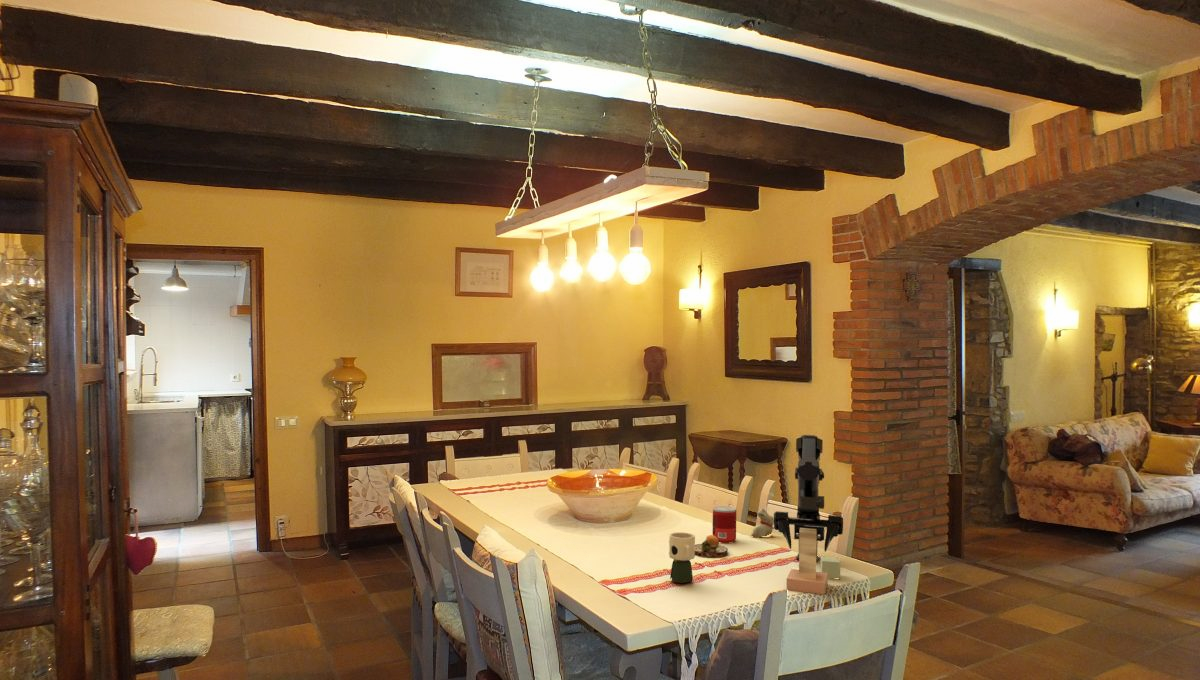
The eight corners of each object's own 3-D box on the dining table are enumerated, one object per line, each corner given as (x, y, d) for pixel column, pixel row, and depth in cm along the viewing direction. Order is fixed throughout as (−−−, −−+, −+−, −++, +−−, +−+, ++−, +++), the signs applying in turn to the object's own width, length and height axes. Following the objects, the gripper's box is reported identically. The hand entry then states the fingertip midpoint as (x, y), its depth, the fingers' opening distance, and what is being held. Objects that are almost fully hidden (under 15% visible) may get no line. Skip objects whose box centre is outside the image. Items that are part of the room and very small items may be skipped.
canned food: (740, 542, 257) (740, 509, 258) (719, 544, 255) (720, 511, 255) (728, 537, 265) (728, 505, 265) (708, 538, 262) (708, 506, 262)
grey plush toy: (774, 538, 263) (774, 509, 264) (751, 537, 265) (751, 508, 265) (773, 535, 269) (773, 506, 269) (750, 533, 270) (751, 505, 270)
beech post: (799, 572, 212) (799, 527, 212) (815, 574, 210) (816, 528, 211) (798, 577, 207) (799, 531, 208) (816, 578, 206) (816, 532, 206)
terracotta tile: (791, 579, 215) (791, 568, 215) (827, 583, 212) (827, 573, 212) (786, 589, 206) (786, 578, 206) (824, 594, 202) (824, 583, 202)
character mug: (663, 576, 216) (663, 531, 216) (686, 575, 218) (687, 530, 218) (675, 588, 205) (676, 540, 206) (700, 587, 207) (701, 539, 207)
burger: (716, 547, 251) (716, 525, 251) (735, 557, 240) (735, 533, 240) (684, 550, 247) (684, 527, 247) (701, 560, 235) (702, 535, 236)
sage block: (820, 573, 222) (820, 556, 222) (838, 574, 221) (838, 557, 221) (821, 578, 217) (822, 561, 217) (840, 579, 216) (840, 562, 216)
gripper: (774, 482, 216) (772, 530, 205) (843, 486, 211) (844, 535, 200) (775, 505, 223) (773, 552, 212) (841, 509, 218) (843, 558, 207)
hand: (807, 549), depth 208 cm, fingers open, 9 cm apart
